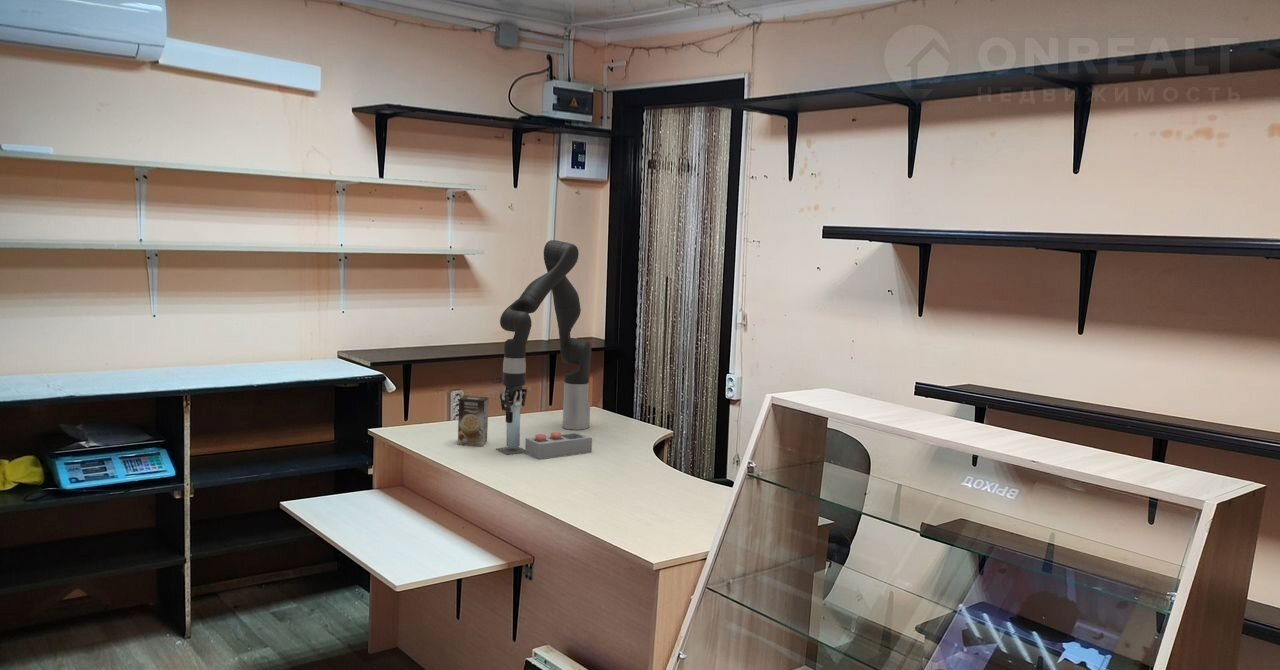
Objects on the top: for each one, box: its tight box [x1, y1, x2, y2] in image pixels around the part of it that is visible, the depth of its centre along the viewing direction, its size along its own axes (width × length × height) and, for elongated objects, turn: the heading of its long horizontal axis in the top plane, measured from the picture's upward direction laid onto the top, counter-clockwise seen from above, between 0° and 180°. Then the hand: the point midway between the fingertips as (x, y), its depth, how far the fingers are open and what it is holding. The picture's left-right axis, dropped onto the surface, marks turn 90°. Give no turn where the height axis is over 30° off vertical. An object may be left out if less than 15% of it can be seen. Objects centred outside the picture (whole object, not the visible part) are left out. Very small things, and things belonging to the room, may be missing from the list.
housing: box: [524, 431, 593, 460], centre depth 310 cm, size 20×9×5 cm, turn 127°
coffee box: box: [457, 395, 489, 447], centre depth 316 cm, size 9×6×16 cm
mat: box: [495, 446, 526, 456], centre depth 310 cm, size 8×8×1 cm
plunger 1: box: [534, 433, 547, 442], centre depth 305 cm, size 3×3×6 cm
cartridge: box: [505, 401, 521, 447], centre depth 309 cm, size 5×5×15 cm
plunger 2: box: [550, 431, 562, 440], centre depth 309 cm, size 3×3×6 cm
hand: (512, 421), depth 309 cm, fingers closed on cartridge, 4 cm apart
